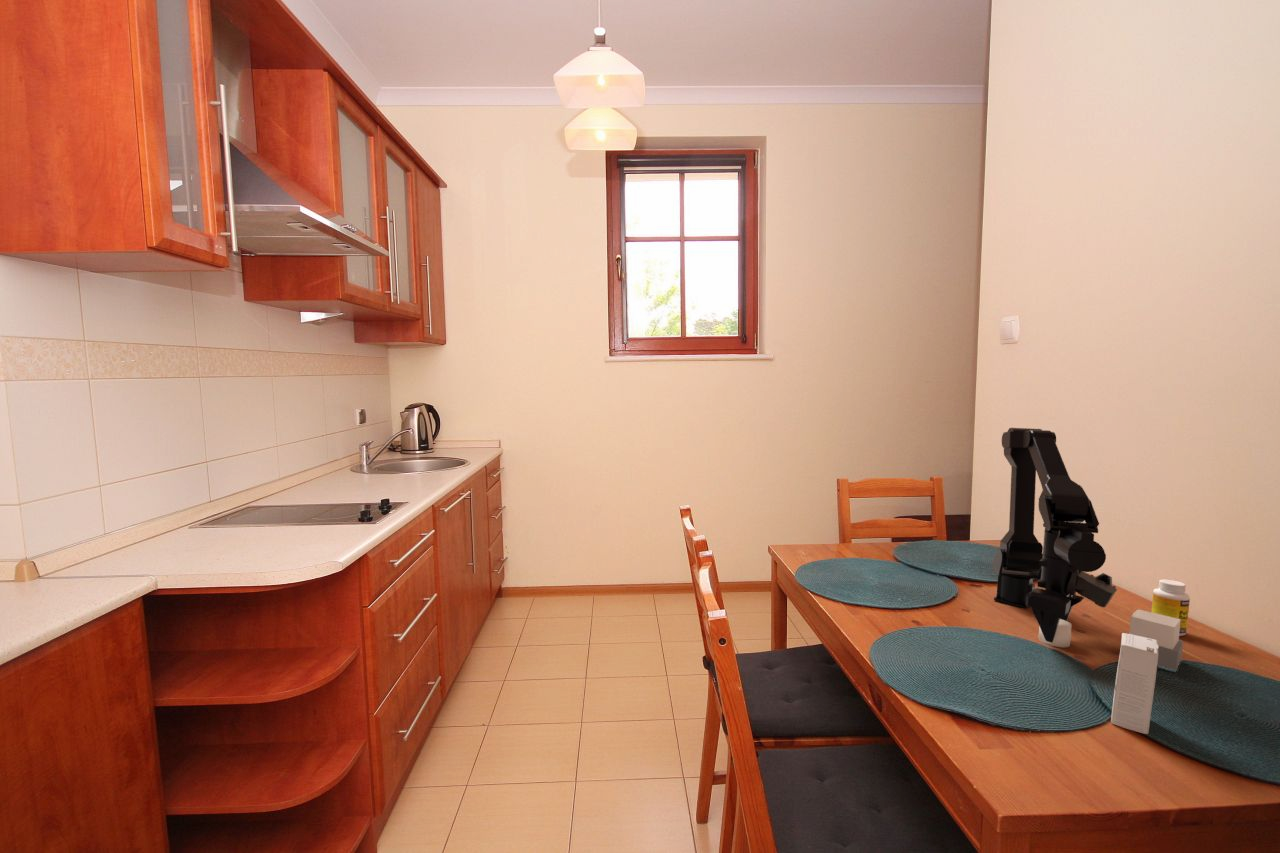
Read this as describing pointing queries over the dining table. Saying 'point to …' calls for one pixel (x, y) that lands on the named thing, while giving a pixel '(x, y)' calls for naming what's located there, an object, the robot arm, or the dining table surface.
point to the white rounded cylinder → (1059, 635)
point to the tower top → (1156, 628)
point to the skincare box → (1135, 683)
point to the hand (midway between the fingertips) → (1054, 636)
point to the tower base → (1170, 656)
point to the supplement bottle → (1172, 602)
